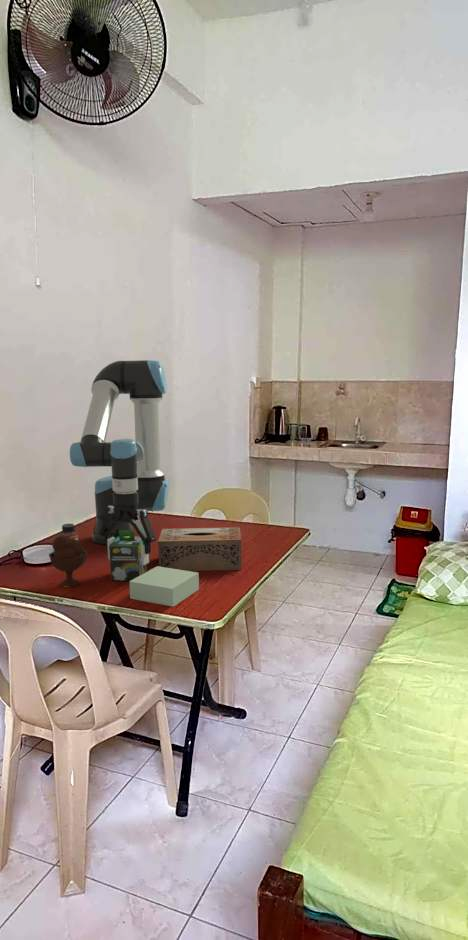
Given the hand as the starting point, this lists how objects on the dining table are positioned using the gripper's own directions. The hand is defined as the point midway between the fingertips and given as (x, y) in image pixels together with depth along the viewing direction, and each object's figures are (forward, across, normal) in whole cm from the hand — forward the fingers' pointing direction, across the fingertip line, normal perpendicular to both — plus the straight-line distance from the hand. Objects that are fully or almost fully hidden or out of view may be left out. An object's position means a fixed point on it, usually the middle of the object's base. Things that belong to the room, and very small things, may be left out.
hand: (128, 561), depth 193 cm
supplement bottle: (+5, -29, +7) cm, 30 cm away
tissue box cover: (+5, +14, +20) cm, 25 cm away
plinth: (+5, +18, -8) cm, 20 cm away
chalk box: (+5, 0, 0) cm, 5 cm away
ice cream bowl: (+5, -12, -13) cm, 18 cm away
